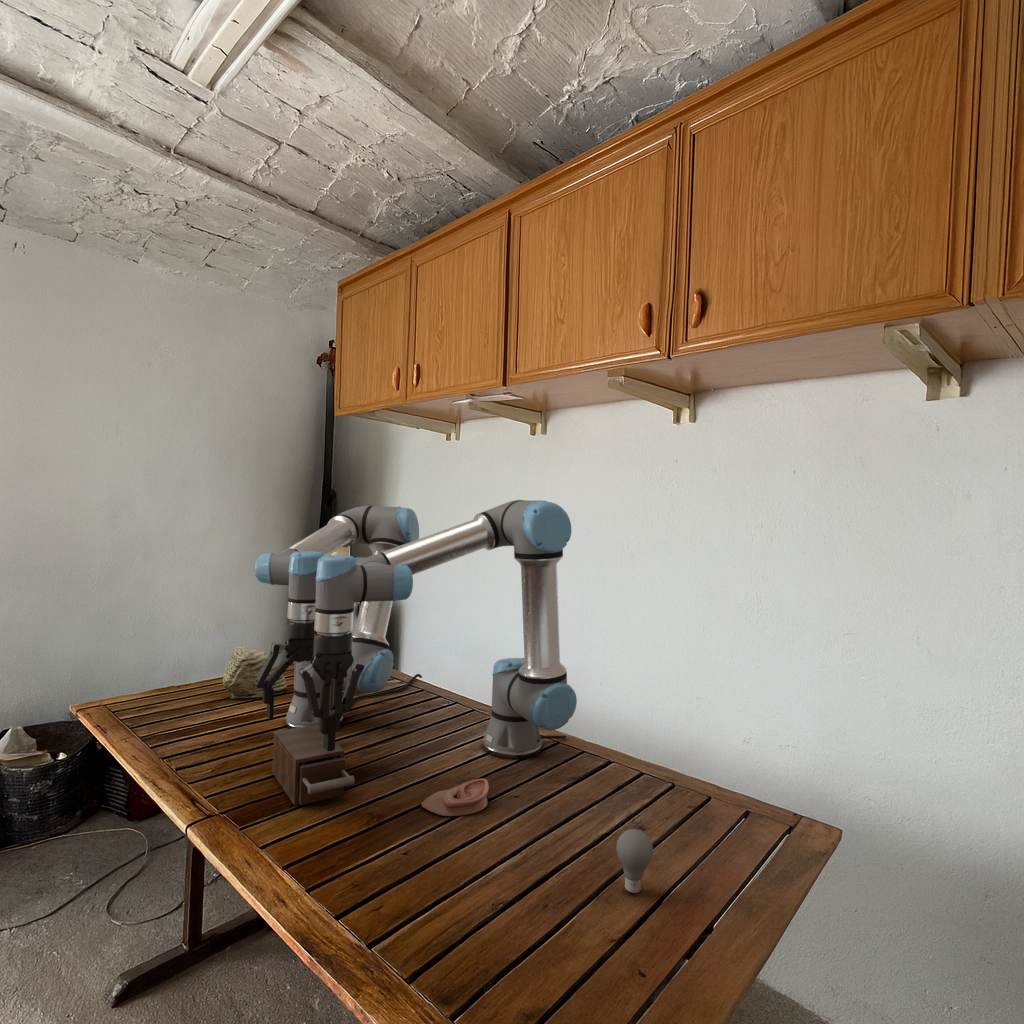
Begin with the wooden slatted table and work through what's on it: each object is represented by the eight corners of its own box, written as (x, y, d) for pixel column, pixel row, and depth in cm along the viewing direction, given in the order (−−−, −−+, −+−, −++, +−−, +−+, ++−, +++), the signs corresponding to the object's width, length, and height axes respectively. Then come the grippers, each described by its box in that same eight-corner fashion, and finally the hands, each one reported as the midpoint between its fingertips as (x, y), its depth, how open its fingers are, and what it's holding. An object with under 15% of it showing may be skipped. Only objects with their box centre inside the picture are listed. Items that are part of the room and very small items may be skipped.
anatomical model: (416, 792, 129) (434, 769, 140) (415, 812, 129) (434, 787, 140) (479, 801, 126) (493, 777, 137) (479, 821, 126) (492, 795, 137)
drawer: (353, 807, 128) (355, 769, 128) (309, 818, 123) (310, 779, 123) (319, 765, 147) (320, 733, 147) (278, 773, 142) (280, 740, 141)
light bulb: (610, 879, 108) (613, 822, 108) (644, 879, 109) (647, 822, 109) (619, 902, 102) (622, 840, 102) (655, 901, 103) (658, 840, 103)
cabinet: (342, 794, 135) (344, 750, 135) (294, 805, 129) (295, 759, 129) (316, 763, 150) (318, 724, 150) (272, 772, 144) (273, 731, 144)
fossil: (218, 695, 195) (220, 647, 195) (278, 685, 208) (279, 640, 207) (228, 703, 189) (230, 653, 188) (289, 692, 201) (290, 645, 201)
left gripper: (250, 627, 133) (246, 727, 134) (363, 619, 148) (359, 709, 148) (242, 620, 140) (238, 716, 140) (352, 613, 154) (348, 700, 154)
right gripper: (306, 639, 121) (301, 761, 121) (371, 633, 128) (366, 749, 128) (295, 631, 127) (290, 748, 127) (357, 626, 134) (353, 736, 135)
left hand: (301, 713), depth 144 cm, fingers open, 13 cm apart
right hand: (329, 748), depth 128 cm, fingers closed
